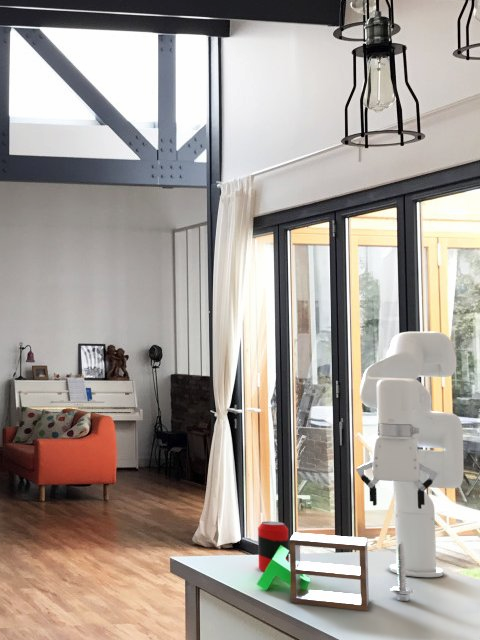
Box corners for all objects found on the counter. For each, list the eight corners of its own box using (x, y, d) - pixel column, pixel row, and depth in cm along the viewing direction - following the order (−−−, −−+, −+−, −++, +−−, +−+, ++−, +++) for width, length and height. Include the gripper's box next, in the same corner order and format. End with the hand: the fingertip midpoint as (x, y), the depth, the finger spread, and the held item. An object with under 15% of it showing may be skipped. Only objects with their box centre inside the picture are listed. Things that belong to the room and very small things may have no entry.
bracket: (293, 610, 237) (309, 584, 236) (256, 584, 241) (272, 559, 240) (301, 591, 256) (316, 567, 255) (266, 568, 259) (280, 544, 259)
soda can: (264, 566, 269) (263, 519, 270) (293, 569, 264) (292, 522, 266) (254, 570, 263) (253, 523, 264) (283, 574, 258) (282, 526, 259)
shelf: (295, 593, 237) (294, 532, 239) (368, 601, 231) (367, 538, 232) (290, 602, 228) (289, 539, 230) (366, 610, 222) (365, 545, 223)
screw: (405, 596, 236) (418, 601, 231) (386, 597, 235) (399, 602, 230) (403, 539, 237) (416, 543, 232) (385, 540, 236) (397, 544, 231)
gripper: (435, 432, 237) (437, 507, 235) (356, 429, 244) (358, 502, 242) (435, 434, 230) (438, 511, 228) (354, 431, 237) (356, 505, 235)
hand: (397, 506), depth 235 cm, fingers open, 9 cm apart
